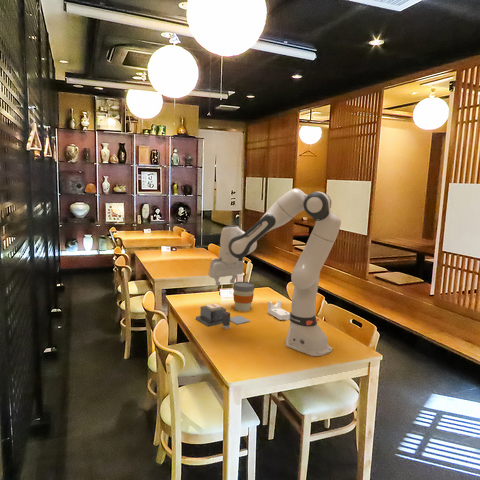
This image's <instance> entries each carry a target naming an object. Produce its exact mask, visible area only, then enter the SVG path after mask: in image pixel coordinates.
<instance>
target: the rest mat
mask: <svg viewBox="0 0 480 480" xmlns="http://www.w3.org/2000/svg"><path fill="white" fill-rule="evenodd" d="M249 322H251V320H250V319H247V318H246V317H243V316H242V315H237V316H232V317H231V316H230V323H233V324H234V325H237V326H238V325H241V324H245V323H249Z"/></svg>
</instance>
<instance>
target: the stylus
mask: <svg viewBox="0 0 480 480" xmlns="http://www.w3.org/2000/svg"><path fill="white" fill-rule="evenodd" d="M230 318H231V312H229V311H226V312H223V323H222V329H225V330H227V329H230V328H231V327H230V325H231V321H230Z"/></svg>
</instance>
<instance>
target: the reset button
mask: <svg viewBox="0 0 480 480" xmlns="http://www.w3.org/2000/svg"><path fill="white" fill-rule="evenodd" d="M205 306H206V308H207V309H209V310H211V311H213V310H218V309H221V307H222V305H220V304H217V303H215V302H214V303H210V304H205Z"/></svg>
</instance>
